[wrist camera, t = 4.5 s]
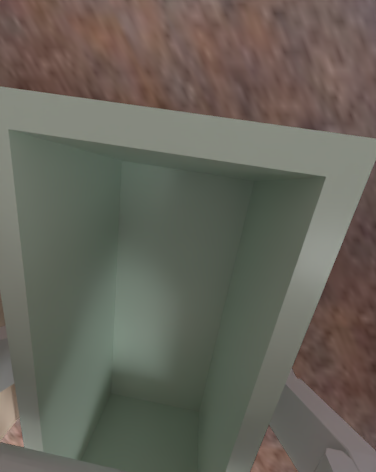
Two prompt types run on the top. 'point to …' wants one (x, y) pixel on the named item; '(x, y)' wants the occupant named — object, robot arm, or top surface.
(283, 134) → the green crate
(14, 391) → the box
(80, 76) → the top surface
